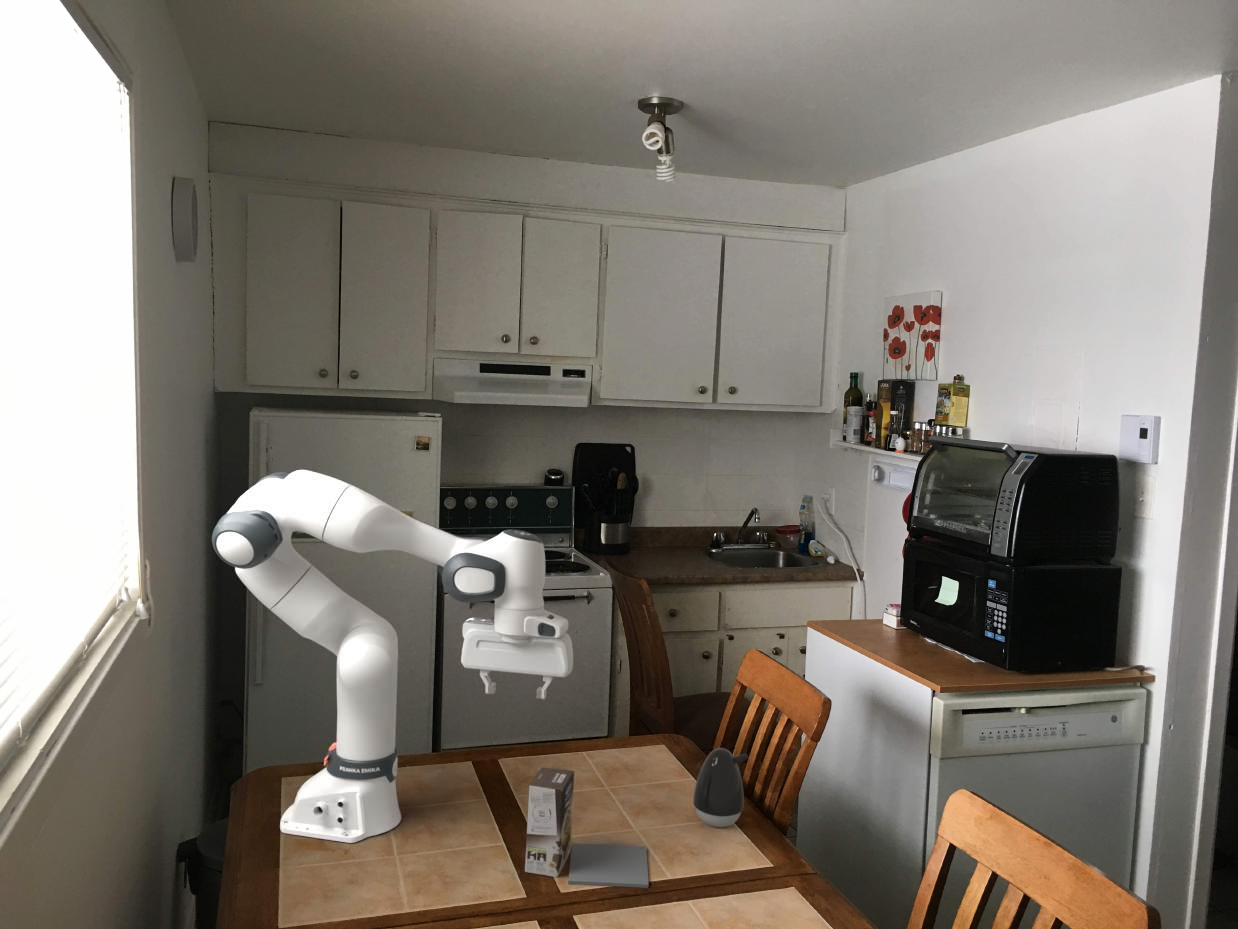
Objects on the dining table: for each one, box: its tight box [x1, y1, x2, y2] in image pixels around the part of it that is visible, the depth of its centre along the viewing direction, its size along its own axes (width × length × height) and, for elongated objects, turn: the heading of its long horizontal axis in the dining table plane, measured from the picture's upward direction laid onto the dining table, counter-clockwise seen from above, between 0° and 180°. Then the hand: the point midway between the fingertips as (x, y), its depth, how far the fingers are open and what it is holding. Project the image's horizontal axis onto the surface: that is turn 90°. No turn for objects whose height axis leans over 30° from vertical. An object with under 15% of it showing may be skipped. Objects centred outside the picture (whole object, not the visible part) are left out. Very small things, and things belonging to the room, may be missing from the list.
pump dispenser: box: [692, 747, 749, 828], centre depth 193 cm, size 10×10×15 cm
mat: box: [567, 842, 650, 889], centre depth 174 cm, size 14×14×1 cm
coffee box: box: [524, 767, 575, 878], centre depth 173 cm, size 9×6×16 cm
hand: (515, 695), depth 173 cm, fingers open, 8 cm apart
